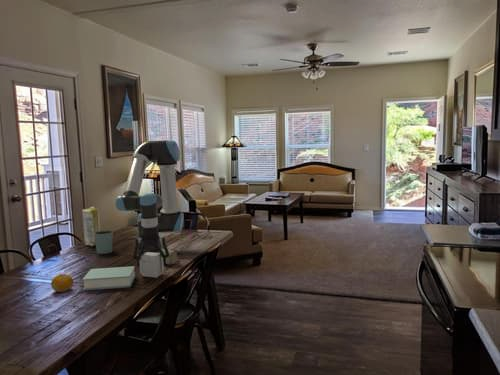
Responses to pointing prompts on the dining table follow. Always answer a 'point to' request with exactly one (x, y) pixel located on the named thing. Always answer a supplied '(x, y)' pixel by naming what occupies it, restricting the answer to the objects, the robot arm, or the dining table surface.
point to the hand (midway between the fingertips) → (152, 271)
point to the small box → (151, 264)
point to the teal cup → (103, 241)
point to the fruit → (62, 282)
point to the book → (109, 278)
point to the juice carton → (90, 225)
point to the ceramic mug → (171, 257)
